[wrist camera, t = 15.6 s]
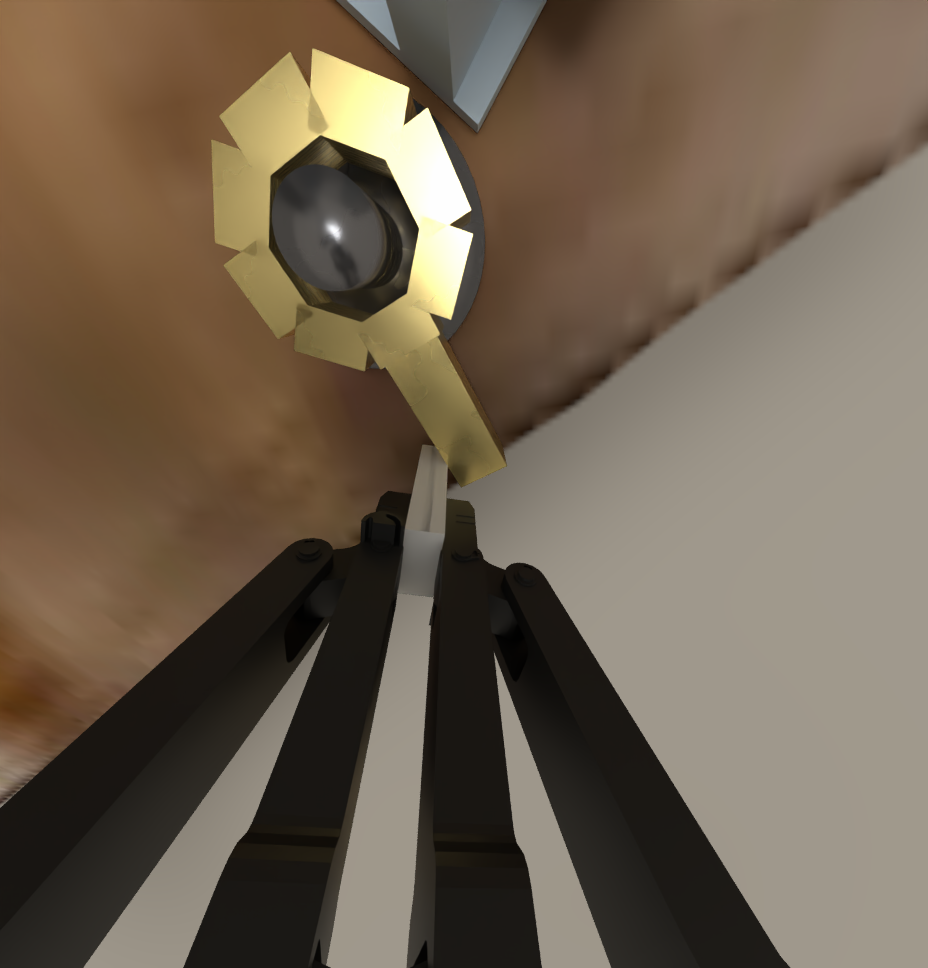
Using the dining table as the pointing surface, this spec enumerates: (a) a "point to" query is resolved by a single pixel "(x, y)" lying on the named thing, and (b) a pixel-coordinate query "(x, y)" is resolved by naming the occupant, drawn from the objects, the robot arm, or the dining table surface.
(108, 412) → the dining table surface
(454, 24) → the rack
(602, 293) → the dining table surface
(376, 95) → the gold box wrench
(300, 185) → the nut base
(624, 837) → the robot arm
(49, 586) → the dining table surface
